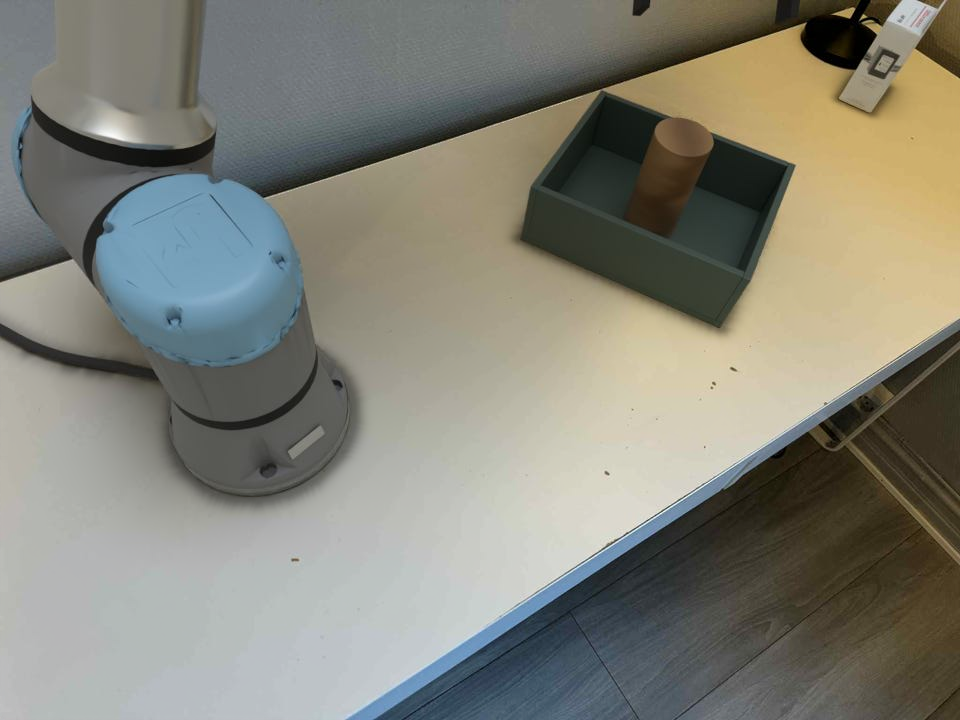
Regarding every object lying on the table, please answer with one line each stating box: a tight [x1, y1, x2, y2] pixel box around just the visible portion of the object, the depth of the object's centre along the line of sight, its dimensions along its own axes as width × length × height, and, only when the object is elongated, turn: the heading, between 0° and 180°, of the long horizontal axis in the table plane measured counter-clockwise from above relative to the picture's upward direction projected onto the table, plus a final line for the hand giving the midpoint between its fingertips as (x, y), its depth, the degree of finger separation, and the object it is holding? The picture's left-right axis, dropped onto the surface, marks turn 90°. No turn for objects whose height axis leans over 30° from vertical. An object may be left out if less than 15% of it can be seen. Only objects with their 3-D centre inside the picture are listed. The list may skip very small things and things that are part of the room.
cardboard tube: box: [624, 117, 714, 238], centre depth 72 cm, size 6×6×12 cm
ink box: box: [838, 0, 948, 113], centre depth 90 cm, size 8×5×15 cm, turn 143°
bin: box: [520, 89, 797, 328], centre depth 74 cm, size 24×20×8 cm
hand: (714, 16), depth 60 cm, fingers open, 13 cm apart
